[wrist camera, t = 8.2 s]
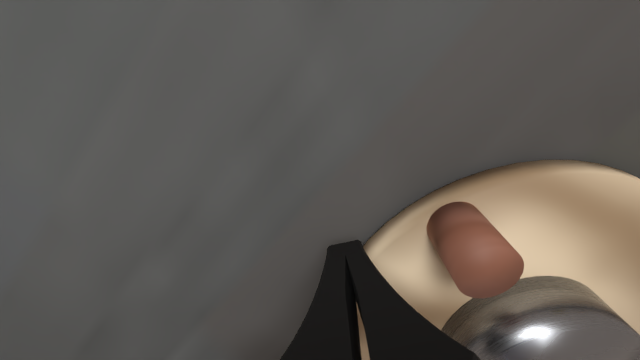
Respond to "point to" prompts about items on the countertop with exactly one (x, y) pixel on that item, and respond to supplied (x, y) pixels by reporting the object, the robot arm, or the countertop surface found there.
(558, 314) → the cover
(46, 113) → the countertop surface
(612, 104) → the countertop surface
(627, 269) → the beige round shallow disc
